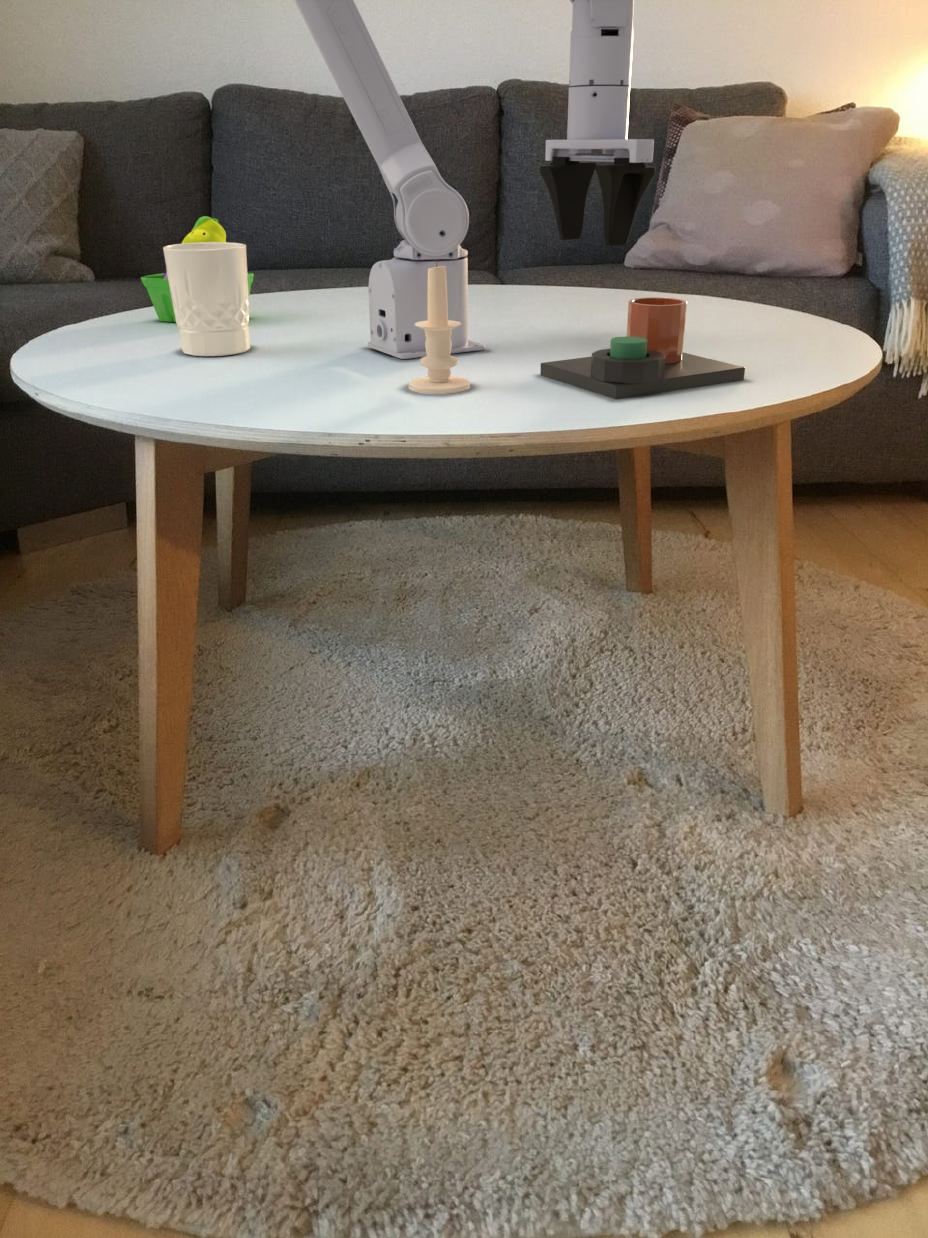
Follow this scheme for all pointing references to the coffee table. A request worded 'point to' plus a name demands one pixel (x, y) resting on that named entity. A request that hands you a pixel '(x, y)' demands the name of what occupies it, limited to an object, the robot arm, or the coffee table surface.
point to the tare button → (628, 347)
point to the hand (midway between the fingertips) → (592, 242)
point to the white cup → (210, 296)
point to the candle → (438, 341)
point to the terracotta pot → (659, 324)
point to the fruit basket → (159, 283)
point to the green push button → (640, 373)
